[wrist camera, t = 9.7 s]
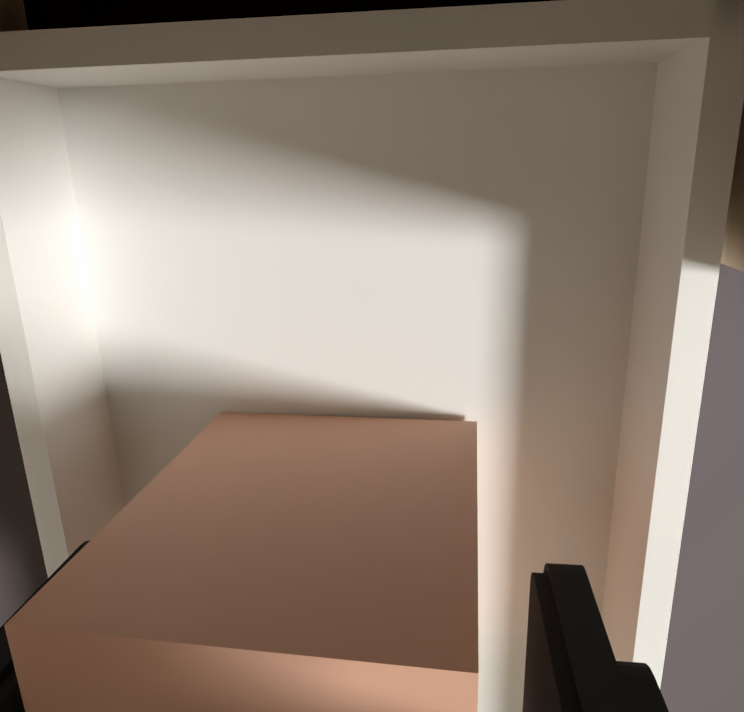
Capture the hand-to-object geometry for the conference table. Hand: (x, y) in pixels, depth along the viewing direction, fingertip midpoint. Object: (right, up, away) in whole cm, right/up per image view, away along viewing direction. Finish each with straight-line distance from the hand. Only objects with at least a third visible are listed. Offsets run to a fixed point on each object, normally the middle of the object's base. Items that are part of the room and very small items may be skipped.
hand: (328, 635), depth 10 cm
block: (0, +1, +3) cm, 3 cm away
